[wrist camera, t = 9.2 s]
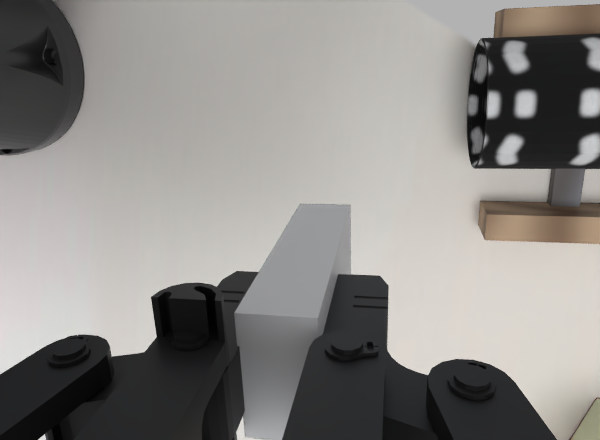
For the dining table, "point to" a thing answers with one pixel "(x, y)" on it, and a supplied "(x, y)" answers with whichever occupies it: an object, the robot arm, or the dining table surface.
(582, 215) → the cradle
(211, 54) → the dining table surface
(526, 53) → the spotted tube
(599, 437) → the gift box
